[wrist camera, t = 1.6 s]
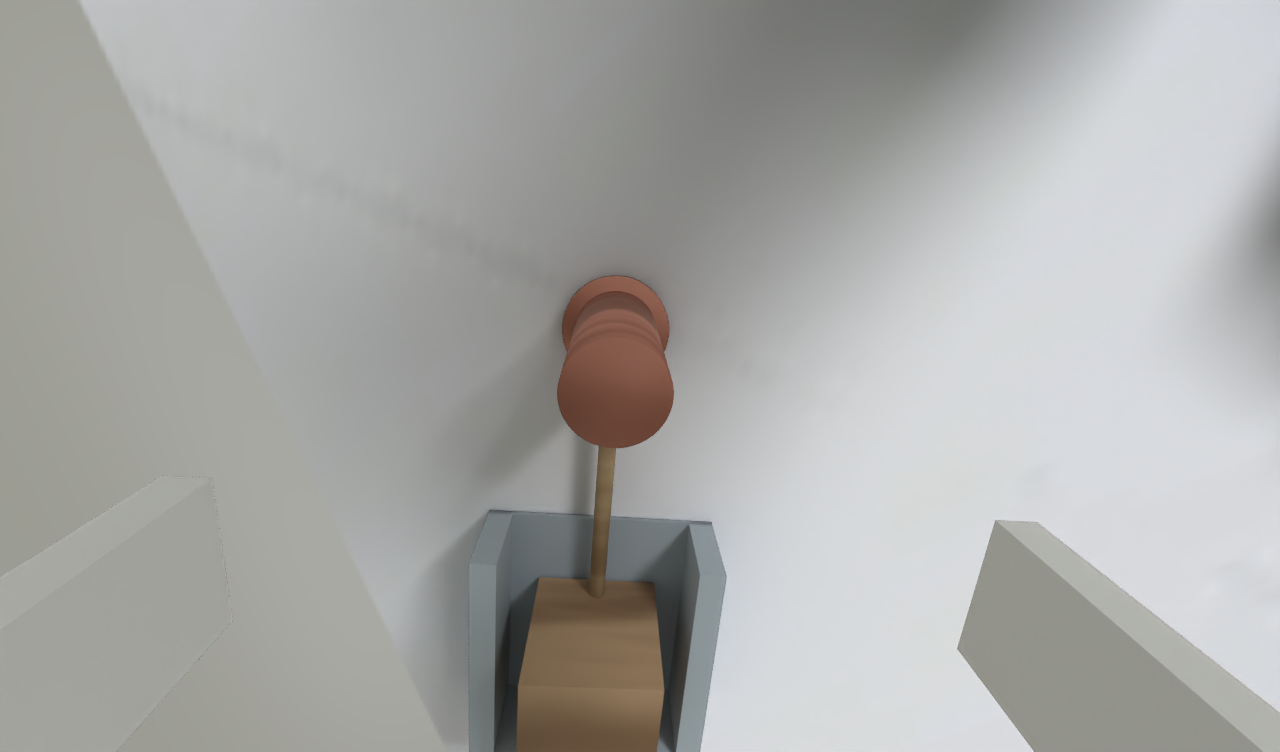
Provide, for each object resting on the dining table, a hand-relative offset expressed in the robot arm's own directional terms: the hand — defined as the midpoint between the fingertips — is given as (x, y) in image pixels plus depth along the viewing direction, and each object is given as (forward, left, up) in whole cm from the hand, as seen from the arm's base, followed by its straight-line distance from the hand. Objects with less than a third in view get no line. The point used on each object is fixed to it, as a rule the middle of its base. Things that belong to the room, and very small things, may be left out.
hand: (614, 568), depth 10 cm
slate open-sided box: (+16, 0, -18) cm, 24 cm away
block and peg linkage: (+8, 0, -18) cm, 20 cm away
